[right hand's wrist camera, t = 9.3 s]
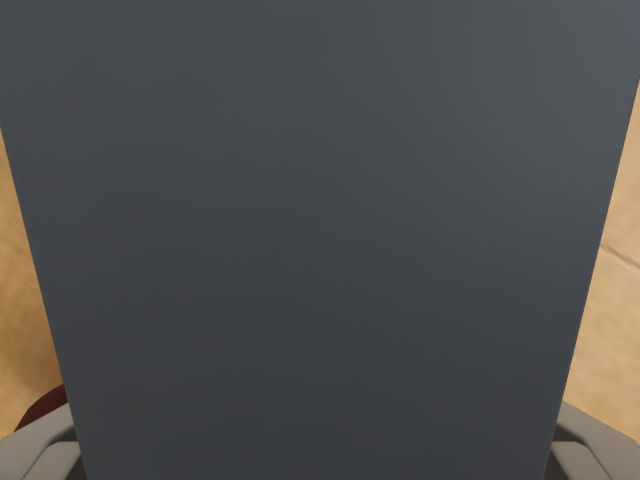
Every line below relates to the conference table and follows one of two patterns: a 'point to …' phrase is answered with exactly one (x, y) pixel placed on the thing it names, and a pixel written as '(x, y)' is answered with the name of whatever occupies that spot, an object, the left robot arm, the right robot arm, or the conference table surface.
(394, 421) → the bar
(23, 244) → the conference table surface
